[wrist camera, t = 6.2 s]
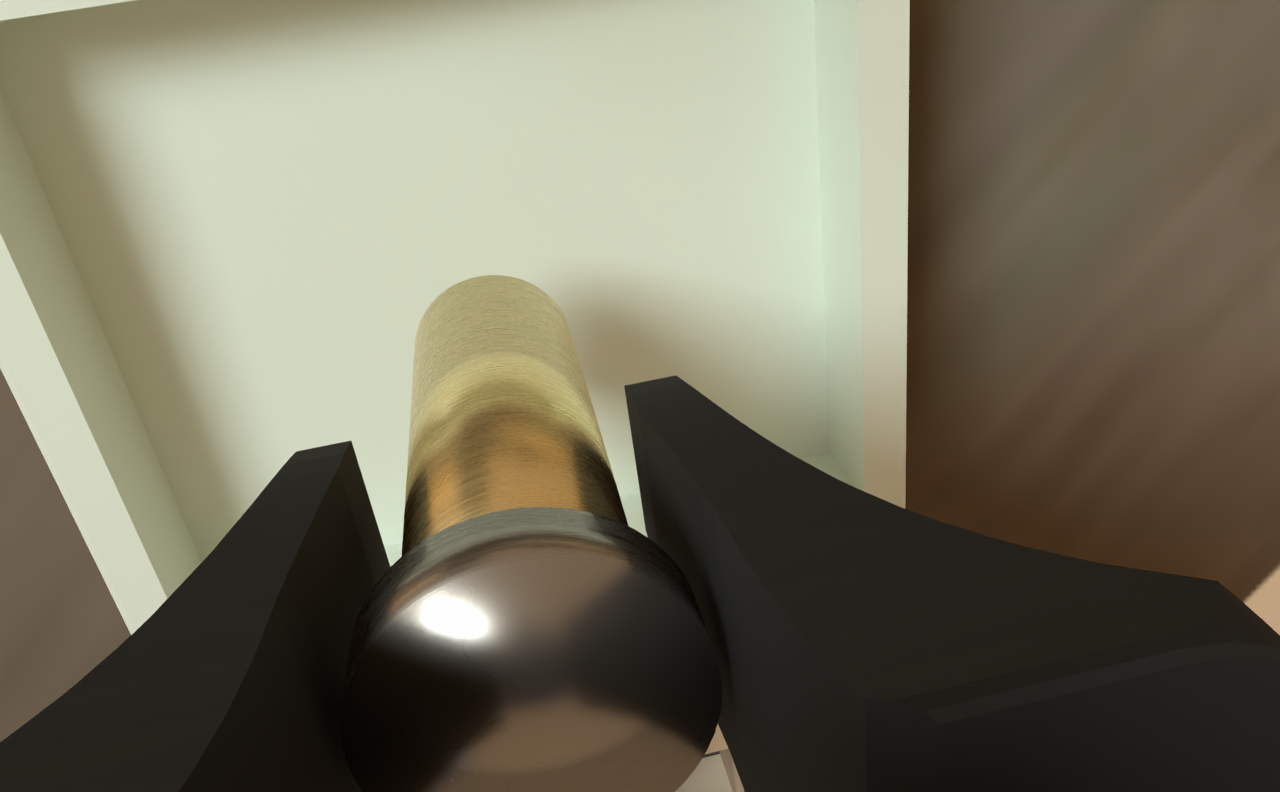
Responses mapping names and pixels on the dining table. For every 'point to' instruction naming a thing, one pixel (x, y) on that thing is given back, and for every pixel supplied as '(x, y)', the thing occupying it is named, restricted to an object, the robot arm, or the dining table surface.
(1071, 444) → the dining table surface
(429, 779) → the pin
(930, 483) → the dining table surface
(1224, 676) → the robot arm
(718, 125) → the tray
